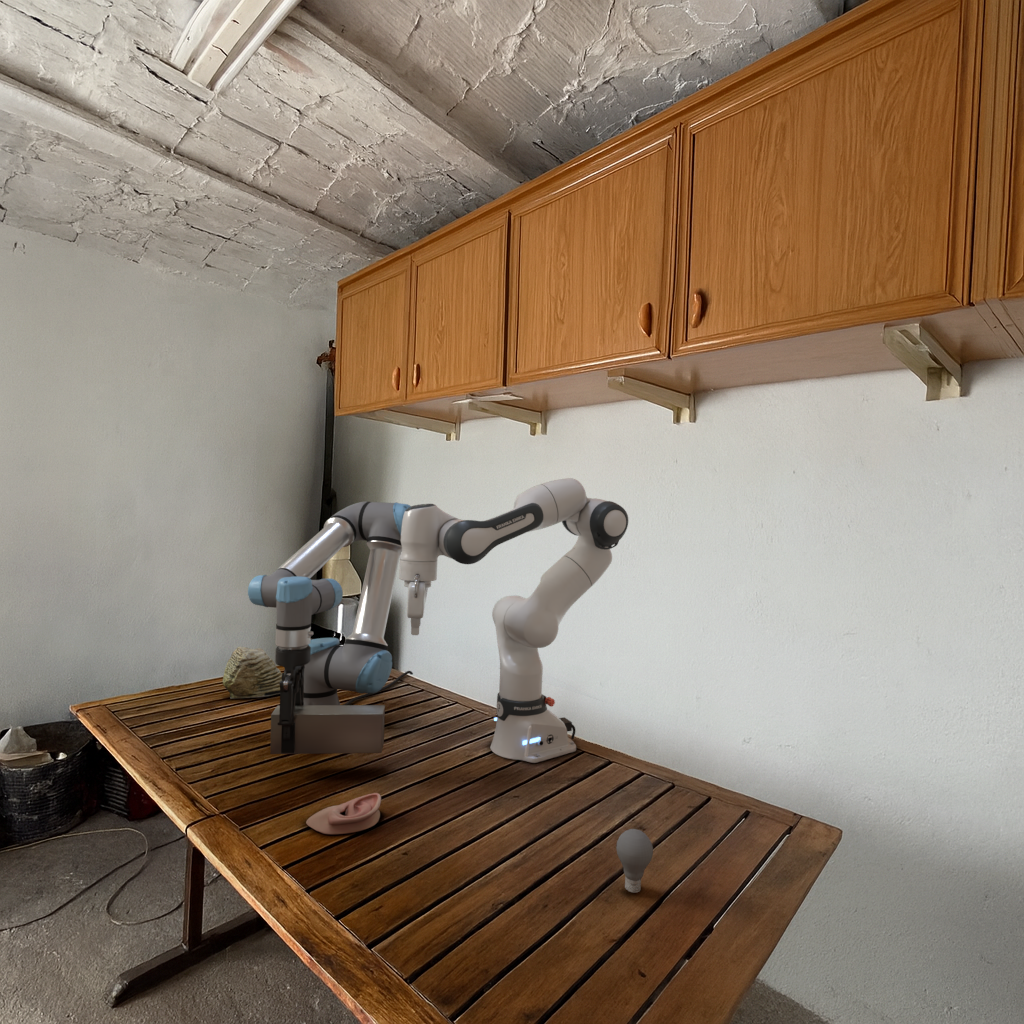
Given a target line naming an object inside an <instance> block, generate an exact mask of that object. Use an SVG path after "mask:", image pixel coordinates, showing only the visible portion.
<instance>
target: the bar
mask: <svg viewBox="0 0 1024 1024" xmlns="http://www.w3.org/2000/svg"><path fill="white" fill-rule="evenodd" d="M279 714H280V704H278V705H276V707H275V709H274V710H273V711H272V713H271V714H270V746H269V747H270V751H269V753H270V754H269V755H314V754H315V755H316V754H317V755H318V754H319V755H323V754H324V755H325V754H329V755H330V754H382V753H383V748H384V744H385V716H386V715H385V714H386V705H385V704H360V705H359V704H353V705H352V704H349V705H343V704H340V705H295V712H294V723H295V749H294V753H281V734H282V725H278V722H279Z"/></svg>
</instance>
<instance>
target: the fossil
mask: <svg viewBox="0 0 1024 1024" xmlns="http://www.w3.org/2000/svg"><path fill="white" fill-rule="evenodd" d="M274 661H275V660H273V659H272V658H271V657H270V656H269V655H268V654H267V653H266V652H265V650H264V649H263V648H260V647H258V648H251V647H247V646H246V647H245V646H238V647H237V648H236V649H235V650H233V651H232V653H231V656H230V657H229V659H228V660H227V663H226V666H225V668H224V671H223V675H222V676H223V677H222V685H223V687H224V688H225V690H226V691H228V693H229V698H230V699H250V698H264V697H271V696H275V695H280V681H282V673H283V672H281V669H279V668H278V667H277V664H276V662H274Z"/></svg>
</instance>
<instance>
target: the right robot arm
mask: <svg viewBox="0 0 1024 1024" xmlns="http://www.w3.org/2000/svg"><path fill="white" fill-rule="evenodd" d="M410 506H411V507H409V508H407V509H406V510H405V512H404V515H403V520H402V528H401V545H402V553H401V556H400V559H399V568H398V570H399V573H398V580H400V581H404V582H403V585H404V587H405V588H407V601H406V602H407V604H406V605H407V606H406V617H407V619H410V635H411V636H419V635H420V626H421V621H422V618H424V614H425V608H426V602H427V596H428V590H429V588H431V587H432V582H434V581H437V577H438V558H439V557H440V556H444V557H446V558H448V559H452V560H453V561H455V562H457V563H458V564H462V565H473V564H477V563H478V562H480V561H481V560H483V559H484V558H485V557H486V556H487V555H488V554H489V553H490V552H491V551H492V550H493V549H494V548H497V546H499V545H501V544H503V543H505V542H506V543H507V542H508V541H511V540H513V539H515V538H517V537H519V536H522V535H524V534H526V533H530V532H534V531H539V530H543V529H546V528H550V527H552V526H555V525H556V524H560V523H562V526H563V527H564V528H565V530H566V531H567V532H568V533H570V534H571V535H574V536H578V537H577V540H576V541H575V543H574V545H573V546H572V548H571V549H570V550H568V551H567V552H566V553H565V554H564V555H562V556H561V557H560V558H559V559H558V560H556V562H555V563H553V565H551V567H549V568H548V569H547V570H546V571H545V572H543V573H542V575H541V577H540V581H539V583H538V585H537V587H536V588H535V590H534V591H533V592H532V593H531V595H529V596H528V597H523V596H520V595H506V596H503V597H501V598H500V599H498V600H497V601H496V602H495V603H494V606H493V608H492V611H491V613H492V615H491V617H492V621H493V623H494V626H495V633H496V640H497V641H496V642H497V649H498V656H499V683H498V684H499V685H498V686H499V687H498V689H499V690H498V693H497V695H496V696H497V697H496V717H493V721H494V722H496V723H495V728H494V734H493V737H492V740H491V743H490V751H491V752H492V753H494V754H495V755H496V756H498V757H501V758H505V759H509V760H516V761H524V762H526V763H527V762H528V763H530V764H531V763H532V764H537V763H541V762H544V761H547V760H550V759H553V758H557V757H561V756H564V755H567V754H571V753H574V752H576V751H577V745H576V742H575V741H573V740H574V739H575V736H576V726H575V725H574V724H573V722H572V721H571V720H569V719H568V718H566V717H559V716H557V715H556V714H555V713H554V712H553V711H551V710H550V709H548V707H554V706H555V704H556V700H555V699H554V698H552V697H551V696H548V697H547V696H546V695H544V694H543V672H544V667H543V662H542V660H541V657H540V653H539V649H543V648H546V647H548V646H550V645H552V644H553V642H554V641H555V639H556V638H557V636H558V634H559V626H560V623H561V622H562V620H563V618H564V617H565V615H566V614H567V612H568V611H569V610H570V608H572V606H573V605H574V604H575V603H577V601H578V600H579V599H580V598H582V597H583V595H584V594H586V592H588V591H589V590H590V589H591V588H592V587H593V586H594V585H595V584H596V583H597V582H598V581H599V580H600V579H601V577H603V575H604V574H605V572H606V571H607V570H608V568H609V567H610V565H611V564H612V562H613V553H612V551H611V550H612V549H614V548H615V547H617V546H618V544H619V542H620V541H621V540H622V538H623V537H624V535H625V534H626V532H627V530H628V527H629V515H628V513H627V511H626V509H625V508H624V507H622V506H621V505H620V504H618V503H617V502H615V501H611V500H606V499H602V498H592V497H588V496H587V493H586V490H585V488H584V486H583V484H582V483H581V482H580V481H579V480H577V479H576V478H573V477H566V478H558V479H554V480H550V481H546V482H543V483H540V484H537V485H535V486H532V487H530V488H528V489H526V490H524V491H522V492H520V493H519V494H517V496H516V498H515V499H514V503H513V508H512V509H510V510H508V511H506V512H503V513H502V514H499V515H496V516H494V517H491V518H489V519H486V520H474V519H462V518H461V519H460V518H457V517H455V516H453V515H451V514H449V513H447V512H445V511H443V510H442V509H441V508H440V507H438V505H436V504H434V503H421V504H414V505H410ZM568 732H572V733H571V737H569V735H568Z"/></svg>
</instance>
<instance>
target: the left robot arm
mask: <svg viewBox="0 0 1024 1024" xmlns="http://www.w3.org/2000/svg"><path fill="white" fill-rule="evenodd" d="M411 506H412V505H410V504H407V503H400V502H380V501H360V502H355V503H352V504H350V505H348V506H346V507H344V508H342V509H341V510H339V511H337V512H336V513H334V514H332V516H330V517H329V518H328V519H326V521H325V522H324V524H323V528H321V530H320V531H318V533H316V534H315V535H314V536H313V537H311V538H310V539H309V540H308V541H307V542H306V543H305V544H304V545H302V547H300V548H299V549H298V550H296V552H295V553H293V554H292V555H291V556H290V557H289V558H288V559H286V560H285V561H284V562H283V563H282V564H281V565H280V566H279V567H277V569H275V570H274V571H273V572H272V573H270V575H267V574H262V575H260V574H259V575H256V576H254V577H253V578H252V579H251V580H250V582H249V584H248V588H247V596H248V599H249V601H250V602H251V604H253V605H254V606H259V607H265V608H275V609H276V625H275V646H277V647H276V648H275V652H274V653H275V656H274V658H275V659H274V661H275V662H274V663H275V665H276V666H279V667H283V668H284V671H283V672H281V673H282V681H280V694H279V705H280V714H279V722H278V725H282V734H281V753H294V749H295V723H294V712H295V705H341V702H340V699H339V695H338V690H339V691H340V690H341V691H347V692H354V693H357V694H358V693H359V694H361V695H359V696H355V697H353V698H351V699H350V700H348V701H347V702H345V703H344V704H342V705H352V703H354V702H356V701H358V700H361V699H365V698H367V697H370V696H372V695H373V696H374V695H375V694H379V693H380V692H383V691H385V690H387V689H388V688H390V687H392V686H394V685H395V684H396V683H398V682H399V681H400V680H401V679H402V678H404V677H406V676H407V675H411V676H412V675H414V672H413V671H412V670H407V671H405V672H403V673H402V674H401V675H399V676H397V678H395V680H393V681H392V682H390V683H388V684H387V685H386V683H387V682H388V680H389V678H390V675H391V673H392V669H393V656H392V654H391V652H390V651H388V645H389V644H388V643H387V642H386V640H385V633H386V629H387V628H386V627H387V623H388V618H389V613H390V608H391V602H392V598H393V593H394V588H395V583H396V577H397V574H398V570H399V565H400V556H401V553H402V545H401V528H402V520H403V515H404V512H405V510H406V509H407V508H409V507H411ZM358 541H359V542H361V541H366V546H367V547H368V549H369V550H370V551H369V555H368V560H367V564H366V569H365V573H364V579H363V583H362V586H361V587H362V589H361V591H360V595H359V601H358V607H357V611H356V615H355V620H354V624H353V629H352V633H351V634H350V635H348V636H347V637H345V640H344V643H343V645H340V644H341V643H340V642H341V641H340V639H339V638H337V637H320V638H319V637H318V638H313V639H312V638H311V637H312V636H313V635H314V631H312V630H311V629H312V616H314V615H316V614H319V613H323V612H328V611H330V610H332V609H334V608H336V607H337V606H339V605H340V604H341V602H342V601H343V595H344V591H343V587H342V585H341V584H340V583H339V581H337V580H336V579H334V578H328V577H327V578H321V579H311V578H312V577H313V576H314V575H316V574H317V572H318V571H320V570H321V569H322V568H323V567H324V566H325V565H326V564H327V563H328V562H329V561H330V560H331V559H332V558H333V557H335V555H336V554H337V553H338V552H339V551H340V550H341V549H342V548H347V547H349V546H351V545H352V544H353V543H354V542H358Z"/></svg>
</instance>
